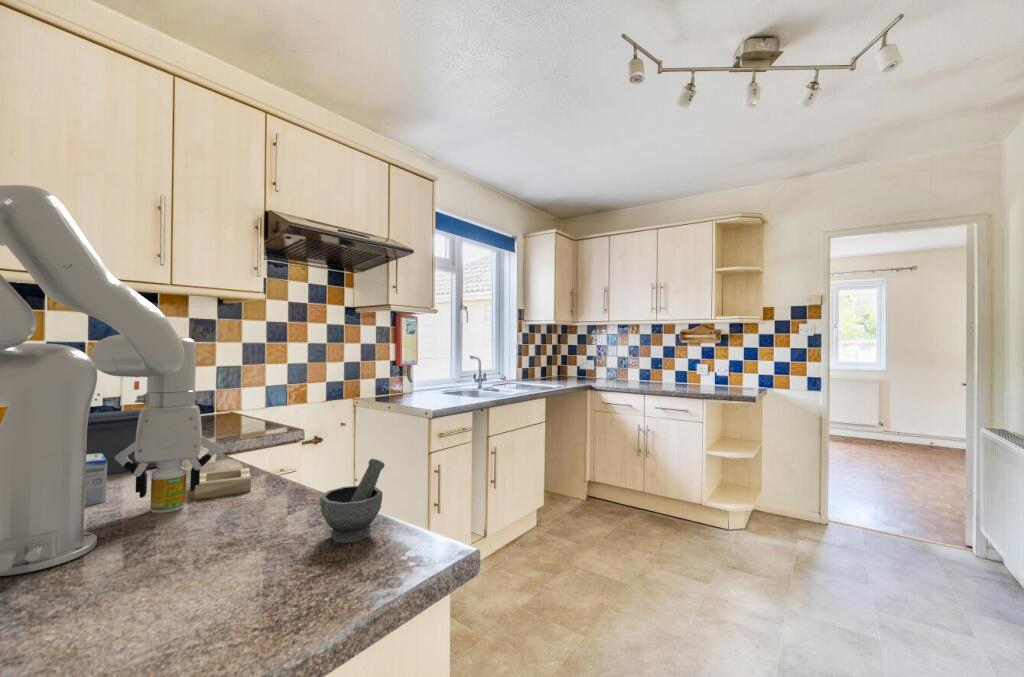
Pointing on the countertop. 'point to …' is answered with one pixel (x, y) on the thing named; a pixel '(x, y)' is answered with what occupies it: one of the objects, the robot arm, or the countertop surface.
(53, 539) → the robot arm
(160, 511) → the supplement bottle
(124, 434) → the storage bin
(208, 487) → the holder block
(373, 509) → the mortar and pestle
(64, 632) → the countertop surface
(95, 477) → the medicine box
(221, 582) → the countertop surface
